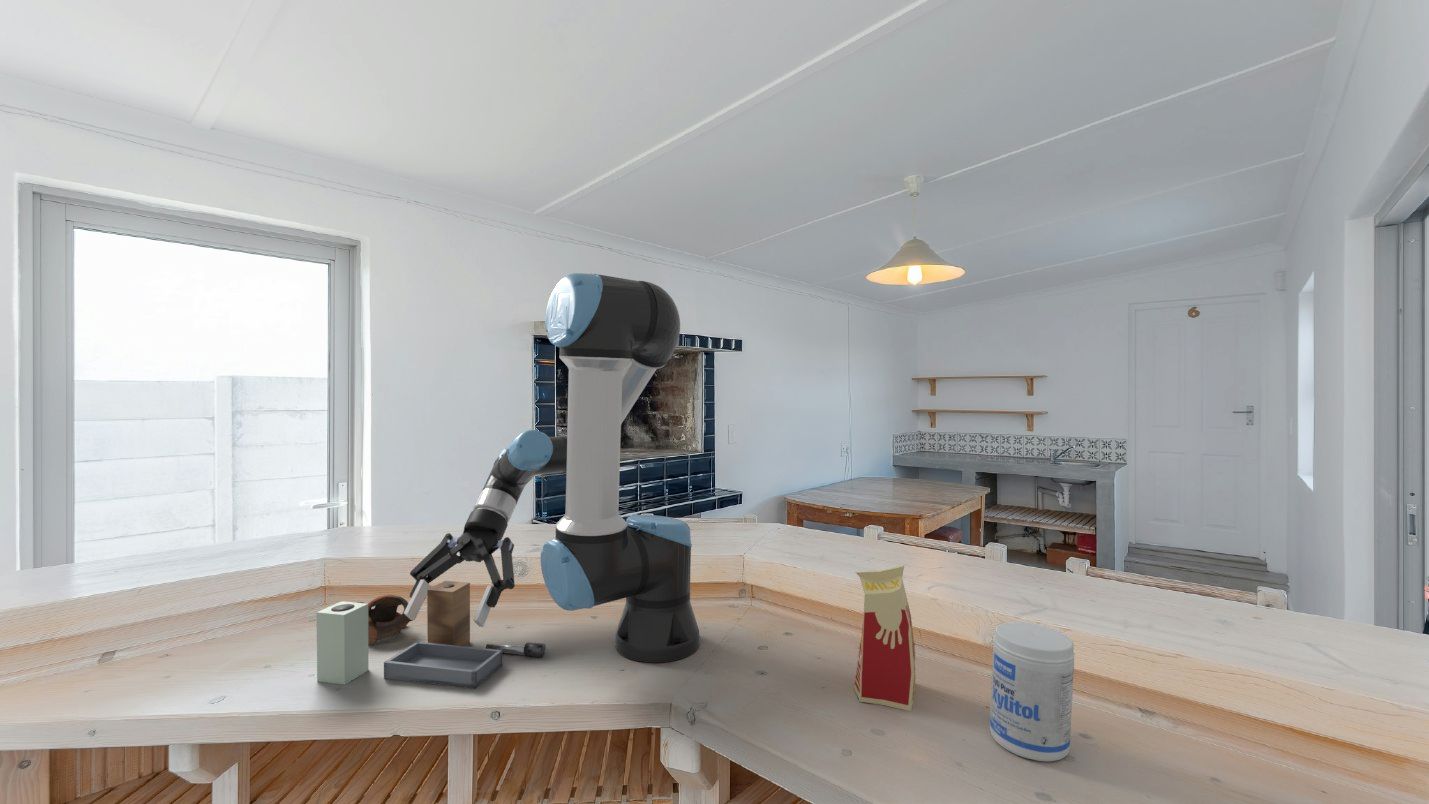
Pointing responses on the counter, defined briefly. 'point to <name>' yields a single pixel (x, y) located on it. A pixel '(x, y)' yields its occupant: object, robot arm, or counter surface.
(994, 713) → the supplement tub
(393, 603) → the pottery mug
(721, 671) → the counter surface
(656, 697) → the counter surface
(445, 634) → the walnut block
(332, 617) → the sage block
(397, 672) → the slate tray
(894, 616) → the milk carton
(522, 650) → the rod
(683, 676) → the counter surface
